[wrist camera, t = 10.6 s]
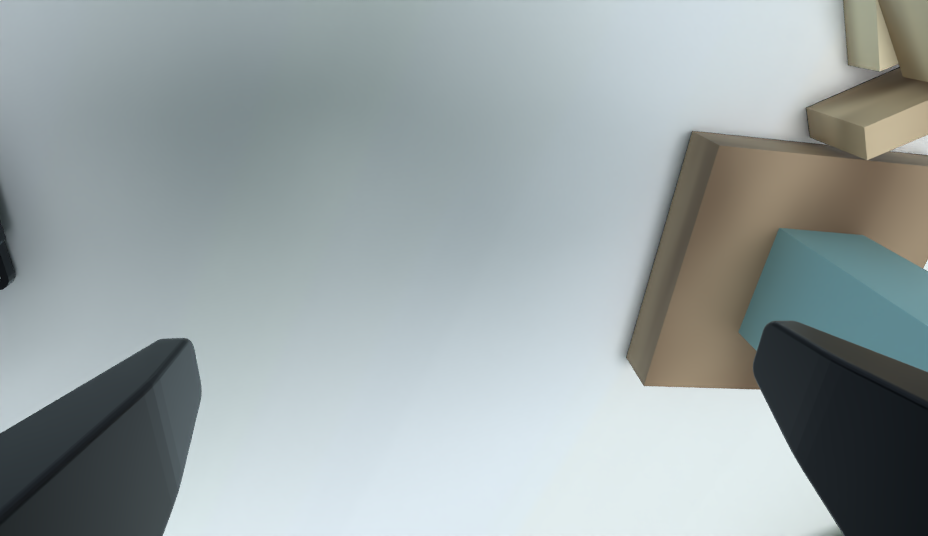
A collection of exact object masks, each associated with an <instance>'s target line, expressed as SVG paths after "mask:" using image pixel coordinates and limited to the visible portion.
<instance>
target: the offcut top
mask: <svg viewBox="0 0 928 536" xmlns="http://www.w3.org/2000/svg"><path fill="white" fill-rule="evenodd" d="M878 2H879V5H880V8H881V11H882V14H883V17H884V20H885V23H886V26H887V29H888V33H889V36H890V39H891V42H892V45H893V48H894V51H895V54H896V57H897V60H898V63H899V66H900V69H901V73H902V76H903V77H906V78H911V79H916V80H920V81H925V82H928V0H878Z"/></svg>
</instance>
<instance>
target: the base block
mask: <svg viewBox="0 0 928 536" xmlns="http://www.w3.org/2000/svg"><path fill="white" fill-rule="evenodd" d="M779 228H787V229H798V230H810V231H821V232H832V233H844V234H855V235H864V236H866V237H867V238H869V239H871V240H873V241H875V242H876V243H878V244H880V245H882V246H883V247H885V248H887V249H889V250H891V251H892V252H894V253H896V254H898V255H900V256H901V257H903V258H905V259H907V260H908V261H910V262H912V263H914V264H916V265H917V266H919V267H921V268H924V266H925V264H926V262H927V260H928V155H918V154H909V153H899V152H890V151H888V152H886V153H883V154H881V155H879V156H876V157H874V158H871V159H869V160H865V159H863V158H860V157H858V156H855V155H853V154H850V153H848V152H845V151H843V150H840V149H838V148H835V147H833V146H830V145H822V144H812V143H803V142H793V141H784V140H774V139H764V138H755V137H745V136H735V135H726V134H716V133H706V132H697V131H692V134H691V138H690V141H689V144H688V148H687V151H686V155H685V158H684V162H683V165H682V168H681V172H680V175H679V179H678V182H677V186H676V189H675V192H674V196H673V199H672V203H671V206H670V210H669V213H668V216H667V220H666V223H665V227H664V230H663V234H662V237H661V240H660V244H659V247H658V251H657V254H656V258H655V261H654V264H653V268H652V271H651V275H650V278H649V282H648V285H647V288H646V292H645V295H644V299H643V302H642V306H641V309H640V312H639V316H638V319H637V323H636V326H635V330H634V333H633V336H632V340H631V343H630V347H629V350H628V354H627V357H626V358H627V359H628V361H629V363H630V364H631V366H632V367H633V369H634V371H635V372H636V374H637V376H638V377H639V379H640V381H641V382H642V384H643V385H644V386H665V387H697V388H730V389H760V388H759V386H758V384H757V382H756V380H755V377H754V373H753V361H754V358H755V355H756V350H755V349H754V348H753V347H752V346H751V345H750V344H749V343H748V342H747V341H746V340H745V339H744V338H743V337H742V336H741V334H740V333H739V329H740V327H741V324H742V322H743V319H744V317H745V314H746V311H747V309H748V306H749V304H750V301H751V299H752V296H753V294H754V291H755V288H756V286H757V283H758V281H759V278H760V276H761V273H762V271H763V268H764V266H765V263H766V260H767V258H768V255H769V253H770V250H771V248H772V245H773V243H774V240H775V237H776V235H777V232H778V230H779Z"/></svg>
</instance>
